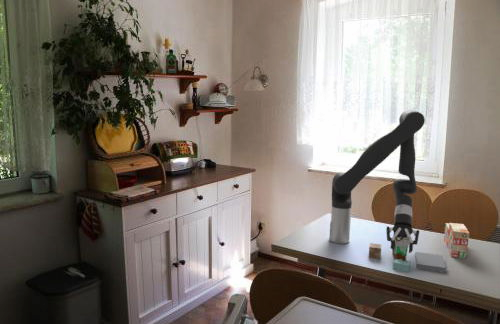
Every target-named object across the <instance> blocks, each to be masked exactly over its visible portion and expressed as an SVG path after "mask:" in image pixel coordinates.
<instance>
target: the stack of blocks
mask: <svg viewBox="0 0 500 324" xmlns="http://www.w3.org/2000/svg"><path fill="white" fill-rule="evenodd" d="M443 237H444V238H443V241H444V244H445V246H446V248H447V250H448V253H449V255H450V257H451V258H459V259H467V253H468V245H469V238H470V232H469V230H468V228H467V226H465V224H464V223H456V222H455V223H453V222H449V223H448V222H446V223H444V236H443Z"/></svg>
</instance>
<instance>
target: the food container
mask: <svg viewBox="0 0 500 324" xmlns="http://www.w3.org/2000/svg"><path fill="white" fill-rule="evenodd" d="M394 234H395V233H394V232H393V236H394ZM393 236H392V237H393ZM394 241H395V244H394V251H393V250H392V251H391V252H392V253H391V255H392V257H393V260H394V261H395V259H398V260H402V261H406V260H407V255H408V251H409V245H410V239H409V237H408V236H407V237H399V236H397V237H395V240H394ZM394 261H393V262H394Z"/></svg>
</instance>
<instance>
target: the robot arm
mask: <svg viewBox="0 0 500 324" xmlns="http://www.w3.org/2000/svg"><path fill="white" fill-rule="evenodd" d="M425 119H426V118H425V116H424V114H423V113H421V112H419V111H416V110H413V109H407V110H405V111H403V112H402V113H401V114H400V116H399V118H398V120H399V124H398V125H397V126H396V127H395V128H394V129H393V130H391V131H390V132H388V133H386V134H384V135H383V136H381V137H380V138H378V139H376V140H375V141H373V143H371V144H370V145H369V146H368V147H367V148H366V149H365V150H364V151H363V152H362V154H361V155H360V156H359V157H358V159H357V161H356V162H355V164H353V166H352V167H351V168H349V169H348V170H347V171H345V172H342V171H341V172H337V173H336V174H335V175H334V177H333V178H332V180H331V182H332V183H331V184H332V185H331V213H330V214H331V215H330V223H329V237H328V239H329V240H328V241H329V242H331V243H332V242H333V243H335V244H341V245H343V244H344V245H345V244H348V243H349V242H350V236H351V235H350V234H351V233H350V232H351V219H352V204H353V201H352V191H353V190H354V189H355V187H357V186H358V185H359V183H360V182H362V180H363V179H364V178H365V177H366V176H368V175H369V174H370V173H371V172H373V171H374V169H376V168H377V167H378V166H379V165H380V164H382V163H383V162H384V161H385V160H386V159H387V158H388V157H389V156H390V155H391V154H392V153H394V152H395V150H397V149H398V148H399V160H398V161H399V162H398V173H399V174H400V175H403V176H406V177H408V178H406V179H405V178H396V179H394V180H393V183H392V187H393V188H392V189H393V192H394V196H395V209H394V215H393V216H394V218H393V219H394V220H393V227H390V226H386V231H385V233H386V240H387V241H388V242H390V249H391V250H392V251H394V244H395V241H394V240H395V237H397V236H399V237H407V236H408V237H409V239H410V245H408V253H409V254H411V253H413V250H414V249H413V248H414V245H415V246H416V245H418V241H419V237H420V236H419V235H420V230H419V229H417V230H415V229H414V228H413V199H412V197H411V195H414V194H416V192H417V190H418V188H417V187H418V185H417V181H416V176H415V169H416V149H415V134H416V133H417V132H419V131H420V130H421V129H423V127H424V125H425ZM409 195H410V196H409ZM391 232H393V235H394V236H392V237H391ZM394 233H395V234H394ZM412 234H413V236H415V237H414V240H413V238H412V236H411V235H412Z"/></svg>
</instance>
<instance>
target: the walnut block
mask: <svg viewBox="0 0 500 324" xmlns="http://www.w3.org/2000/svg"><path fill="white" fill-rule="evenodd" d="M381 255H382V244H380V243H371V242H370V243H369V248H368V258H369V259H376V260H381V257H382V256H381Z"/></svg>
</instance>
